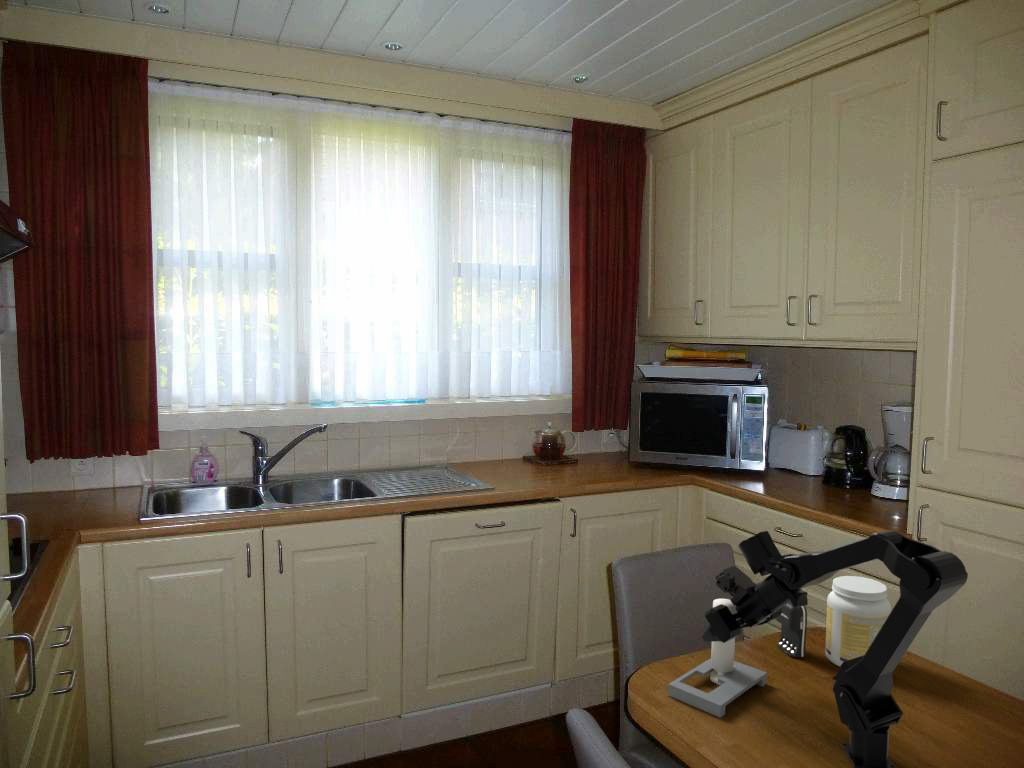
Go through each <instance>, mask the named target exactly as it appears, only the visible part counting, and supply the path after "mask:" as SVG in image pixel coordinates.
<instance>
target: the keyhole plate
mask: <svg viewBox="0 0 1024 768" xmlns="http://www.w3.org/2000/svg"><path fill="white" fill-rule="evenodd" d="M713 671H715V670H714V669H713V668H712V667H711V657H710V658H709V659H707V660H705V661H704V662H702V663H701V664H699V665H698V666H696V667H694V668H693V669H691V670H689V671H687V672H686V673H684V674H682V675H681V676H680V677H677V678H676V679H674V680H673V681H671V682H670V683H668V694H667V696H668V697H670V698H674V699H675V700H677V701H679V702H683V703H685V704H687V705H689V706H692V707H694V708H696V709H699V710H701V711H703V712H706V713H708V714H710V715H713V716H715V717H716V718H720V719H721V718H722V717H723V716H725V715H726V706H727V705H729V704H730V703H731V702H733V701H734V700H735V699H737V698H738V697H740V696H741V695H742V694H744V693H745V692H747V691H748V690H749V689H750V688H752V687H754V686H756V684H757V686H759V685H760V686H759V687H761V686H763V687H764V686H765V685H767V678H768V677H767V676H768V672H766V671H763V670H760V669H759V668H756V667H752V666H750V665H747V664H744V663H741V662H739V661H737V660H736V661H735V660H734V670H733V671H731V672H727V673H726V674H724V675H723V676H721V677H720V678H718V682H719V683H721V684H722V685H718V686H717V687H715V688H714V689H713V690H712V691H710V692H705V691H703V690H701V689H698V688H696V687H693V686H692V685H688V684H686V683H684V682H685V681H687V680H689V679H690V678H692V677H693V676H695V675H699V676H701V677H703V678H705V677H706V676H708V675H709V674H711V672H713Z"/></svg>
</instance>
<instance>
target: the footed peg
mask: <svg viewBox="0 0 1024 768" xmlns="http://www.w3.org/2000/svg"><path fill="white" fill-rule="evenodd" d="M721 604H722V605H725V606H727V607H728V608H729V610H730V611H731V613H732V614H735V613H737V611H736V605H733V603H732V602H731V600H730V599H729V598H716V599H714V600H713V601H712V608H713V607H716V606H718V605H721ZM735 641H736V637H735V638H733V639H732V640H729V641H727V642H725V643H723V642H721V641H713V642H711V654H710V655H711V656H710V658H711V667H712V668H713V669H714V671H712V672H711V673H710V678H709V679H710V681H711V682H712V683H713V682H714V683H713V684H715V683H716V684H715V685H718V686H720V685H722V684H721V683H719V682H718V678H720V677H721V676H723V675H724V674H726V673H727V672H731V671H733V670H734V661H735V650H736V649H735V647H736V645H735V644H736V643H735Z"/></svg>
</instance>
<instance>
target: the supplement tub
mask: <svg viewBox="0 0 1024 768" xmlns="http://www.w3.org/2000/svg"><path fill="white" fill-rule="evenodd" d="M887 588H888V587H887V586H886V585H885V584H884V583H882V582H880V581H879V580H875V579H872V578H868V577H863V576H858V575H844V576H843V575H841V576H838V577H835V578H833V580H832V586H831V589H832V591H830V593H829V592H828V593H829V594H828V595H827V599H826V601H827V603H826V624H825V625H826V627H825V631H826V632H825V648H824V650H825V656H826V658H827V659H828V660H829V661H830V662H831V663H833V665H836V666H837V667H839V668H840V666H841V665H842V663H843V662H844V661H847V660H850V659H853V658H856V657H860V656H863V655H865V653H866V652H867V650H868V648H869V647H870V645H871V643H872V642H873V640H874V639H875V637H876V635H877V634H878V632H879V630H880V629H881V627H882V626H883V624H884V622H885V621H886V619H887V617H888V616H889V614H890V613H891V611H892V608H891V607H892V605H891V603H890V601H889V600H888V599H887V598H888V592H887V591H888V589H887Z"/></svg>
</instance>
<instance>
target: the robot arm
mask: <svg viewBox="0 0 1024 768" xmlns="http://www.w3.org/2000/svg"><path fill="white" fill-rule="evenodd" d="M737 547H738V549H739V551H740V552H741V554H742V556H743V557H744V559H745V561H746V562H747V564H748V566H749V568H750V570H751V572H752V573H753V574H754V575H757V574H760V576H761V577H765V576H767V577H765V578H764V579H762V580H761V581H760V582H757V583H755V582H754V581H753V580H752V579H751V577H750V576H749V575H747V574H746V573H744V571H742V570H741V569H740V568H738V567H737V566H734V565H733V566H729V567H726V568H724V569H722V571H721V572H719V574H717V575H716V576H715V580H716V581H715V586H716V587H718V589H719V590H721V591H722V592H723V593H725V594H726V593H727V594H729V595H730V596H731V597H732V598H730V599H729V600H731V602H732V603H733V605H736V613H735V614H732V613H731V611H730V610H729V608H728V607H727V606H725V605H722V604H721V605H718V606H716V607H713V606H712V607H711V608H710V609H708V610H707V611H705V612H704V617H705V619H706V621H707V622H708V624H709V625H708V626H707V628H706V629H705V631H704V633H703V634H702V636H701V638H702V639H703V641H704V642H705V643H708V642H709V643H712V642H713V641H721V642H723V643H725V642H727V641H729V640H732V639H733V638H735V639H736V638H737V637H738V636H741V632H742V631H741V630H742V629H744V628H752V627H756V626H762V625H765V624H768V623H770V622H772V621H774V620H776V618H777V617H779V616H780V615H781V614H782V607H783V606H785V605H786V604H788V603H789V602H790V601H791V603H792V605H793V606H794V607H801V606H805V607H806V606H809V605H808V604H809V603H808V602H809V601H808V594H809V593H808V591H805V590H803V588H808V587H812V586H816V585H817V586H818V585H820V584H823V582H825V581H827V580H829V579H831V578H832V577H833V576H834V575H835V574H837V573H838V572H840V571H843V570H847V569H850V568H854V567H857V566H861V565H863V564H867V563H871V562H874V561H876V560H879V561H881V562H882V563H883V564H884V566H885V567H886V568H887V569H888V571H889V572H890V573H891V574H892V575H893V576H895V577H897V578H898V579H899V581H898V583H899V598H898V600H897V601H896V603H895V604H894V606H893V608H891V613H890V614H889V616H888V617H887V619H886V621H885V622H884V624H883V626H882V627H881V629H880V630H879V632H878V634H877V635H876V637H875V639H874V640H873V642H872V643H871V645H870V647H869V648H868V650H867V652H866V653H865V655H863V656H860V657H856V658H853V659H850V660H847V661H844V662H843V663H842V665H841V666H840V667H839V669H838V671H837V673H836V675H834V676H832V680H834V683H833V685H832V691H833V693H834V697H835V702H836V705H837V711H838V716H839V719H840V722H841V723H842V724H844V725H846V726H847V728H848V730H849V743H848V742H842V743H841V748H842V750H843V752H844V753H845V755H846V756H847V758H848V759H849V761H850V763H851V764H852V766H853V767H854V768H897V765H895V763H894V762H893V760H892V759H891V758H890V756H889V743H890V742H889V741H890V739H889V738H890V726H891V725H895V724H899V723H900V722H901V720H902V718H903V716H904V712H903V710H902V709H901V707H900V706H899V704H898V703H897V701H896V699H895V698H894V696H893V695H892V690H893V687H894V681H893V673H894V671H895V669H896V667H897V666H898V665H899V663H900V661H901V660H902V659H903V657H904V656H905V654H906V652H907V650H908V649H909V648H910V646H911V644H912V643H913V642H914V641H915V638H916V637H917V635H918V634H919V632H920V631H921V629H922V628H923V626H924V624H925V623H926V621H927V620H928V618H929V617H930V616H931V614H932V612H933V611H935V609H936V608H938V607H940V606H942V604H944V603H945V602H947V601H948V600H949V599H951V598H953V596H954V595H955V594H956V593H957V592H958V591H959V590H960V589H962V588H963V587H964V586H965V584H966V583H967V580H968V576H969V574H968V572H967V570H966V566H965V565H964V563H963V561H962V560H961V559H960V558H959V557H958V556H957V555H956V554H954V553H953V552H950V551H946V550H945V551H942V550H940V549H939V548H937V547H935V546H934V545H930V544H928V543H924V542H923V541H922V542H921V541H919V540H916V539H913V538H910V537H908V536H906V535H904V534H903V533H900V532H899V531H896V530H893V529H890V530H889V529H888V530H884V531H879V532H874V533H872V534H871V535H869V536H866V537H864V538H861V539H858V540H856V541H852V542H849V543H846V544H843V545H840V546H837V547H834V548H831V549H828V550H820V551H809V552H804V553H798V554H795V553H789V554H784V555H782V554H781V552H780V550H779V548H778V547H777V545H776V544H775V542H774V541H773V539H772V536H771V534H770V532H769V531H768V530H764V531H759V532H758V533H757V534H755V535H753V536H751V537H748V538H746V539H744V540H741V541H740V543H739V544H738V546H737Z"/></svg>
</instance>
